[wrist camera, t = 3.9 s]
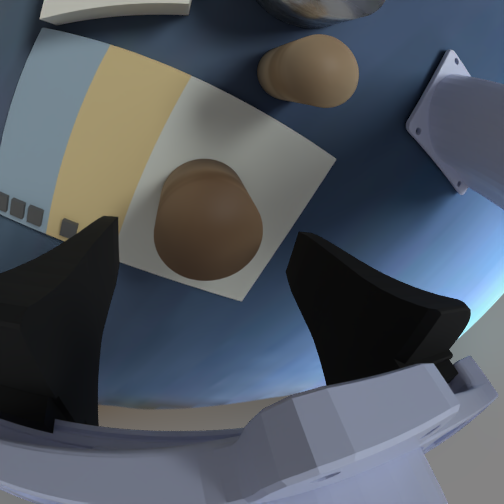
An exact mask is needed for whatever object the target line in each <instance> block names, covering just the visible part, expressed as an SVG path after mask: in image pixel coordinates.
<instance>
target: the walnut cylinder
mask: <svg viewBox="0 0 504 504" xmlns="http://www.w3.org/2000/svg"><path fill="white" fill-rule="evenodd" d="M262 237H263V224H262V219H261V216H260V213H259V211H258V209H257V207H256V206H255V204H254V202H253V200H252V199H251V197H250V195H249V193H248V192H247V190H246V188H245V186H244V185H243V183H242V181H241V179H240V178H239V176H238V175H237V173H236V172H235V171H234V170H233V169H232V168H230V167H229V166H228V165H226V164H224V163H222V162H220V161H217V160H213V159H195V160H191V161H188V162H186V163H184V164H182V165H180V166H178V167H177V168H176V169H175V170H173V171H172V172H171V174H170V175H169V176H168V177H167V179H166V181H165V182H164V184H163V187H162V190H161V195H160V200H159V205H158V210H157V215H156V221H155V226H154V244H155V247H156V250H157V253H158V255H159V256H160V258H161V260H162V261H163V262H164V263H165V265H166V266H167V267H169V268H170V269H171V270H172V271H174V272H175V273H177V274H179V275H181V276H183V277H185V278H188V279H192V280H198V281H213V280H219V279H223V278H226V277H228V276H231V275H233V274H235V273H237V272H238V271H240V270H241V269H243V268H244V267H245V266H246V265H247V264H248V263H249V262H250V261H251V260H252V259H253V258H254V256H255V255H256V253H257V251H258V250H259V247H260V245H261V241H262Z"/></svg>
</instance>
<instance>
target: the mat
mask: <svg viewBox="0 0 504 504" xmlns="http://www.w3.org/2000/svg"><path fill="white" fill-rule="evenodd" d="M195 159H213V160H217V161H220V162H222V163H224V164H226V165H228V166H229V167H230V168H232V169H233V170H234V171H235V172H236V173H237V175H238V176H239V178H240V179H241V181H242V183H243V185H244V186H245V188H246V190H247V192H248V193H249V195H250V197H251V199H252V200H253V202H254V204H255V206H256V207H257V209H258V211H259V213H260V216H261V219H262V224H263V237H262V241H261V245H260V247H259V250H258V251H257V253H256V255H255V256H254V258H253V259H252V260H251V261H250V262H249V263H248V264H247V265H246V266H245V267H244V268H243V269H241V270H240V271H238V272H237V273H235V274H233V275H231V276H228V277H226V278H223V279H219V280H213V281H198V280H192V279H188V278H185V277H183V276H181V275H179V274H177V273H175V272H174V271H172V270H171V269H170V268H169V267H167V266H166V265H165V263H164V262H163V261H162V260H161V258H160V256H159V255H158V253H157V250H156V247H155V244H154V226H155V221H156V215H157V210H158V205H159V200H160V195H161V190H162V187H163V184H164V182H165V181H166V179H167V177H168V176H169V175H170V174H171V172H172V171H173V170H175V169H176V168H177V167H178V166H180V165H182V164H184V163H186V162H188V161H191V160H195ZM335 161H336V158H334V157H333V156H331V155H330V154H329V153H327V152H326V151H324V150H323V149H321V148H320V147H318V146H317V145H315V144H314V143H312V142H311V141H309V140H308V139H306V138H305V137H303V136H301V135H300V134H298V133H297V132H295V131H294V130H292V129H290V128H289V127H287V126H285V125H284V124H282V123H280V122H279V121H277V120H275V119H274V118H272V117H270V116H269V115H267V114H265V113H263V112H262V111H260V110H258V109H256V108H255V107H253V106H251V105H249V104H247V103H245V102H244V101H242V100H240V99H238V98H236V97H234V96H232V95H230V94H228V93H226V92H224V91H222V90H220V89H218V88H216V87H214V86H212V85H210V84H208V83H206V82H204V81H202V80H200V79H197V78H195V77H193V76H191V75H189V74H186V73H184V72H182V71H180V70H177V69H175V68H173V67H170V66H168V65H165V64H163V63H160V62H158V61H155V60H153V59H150V58H148V57H145V56H142V55H139V54H137V53H134V52H131V51H128V50H125V49H122V48H119V47H116V46H113V45H110V44H107V43H104V42H100V41H97V40H93V39H90V38H86V37H82V36H79V35H75V34H71V33H66V32H62V31H58V30H53V29H48V28H43V27H42V29H41V31H40V33H39V35H38V37H37V39H36V41H35V44H34V46H33V48H32V50H31V52H30V55H29V57H28V59H27V62H26V64H25V66H24V69H23V72H22V74H21V77H20V79H19V82H18V85H17V88H16V91H15V94H14V97H13V100H12V103H11V106H10V110H9V113H8V117H7V121H6V124H5V128H4V132H3V137H2V141H1V146H0V214H1V215H3V216H5V217H7V218H10V219H12V220H14V221H16V222H19V223H21V224H23V225H26V226H28V227H31V228H33V229H35V230H38V231H40V232H43V233H45V234H47V235H50V236H52V237H55V238H57V239H60V240H62V241H66V240H68V239H69V238H71V237H72V236H74V235H75V234H77V233H78V232H80V231H81V230H82V229H84V228H85V227H87V226H88V225H90V224H91V223H92V222H94V221H95V220H97V219H98V218H100V217H102V216H114V217H118V233H119V262H121V263H124V264H127V265H130V266H132V267H135V268H138V269H141V270H144V271H147V272H150V273H153V274H156V275H159V276H162V277H165V278H168V279H171V280H174V281H177V282H180V283H183V284H186V285H189V286H192V287H196V288H199V289H202V290H205V291H208V292H212V293H215V294H218V295H222V296H225V297H228V298H232V299H235V300H238V301H242V300H243V299H244V297H245V296H246V294H247V293H248V291H249V290H250V289H251V287H252V286H253V284H254V283H255V281H256V280H257V278H258V277H259V275H260V274H261V272H262V271H263V269H264V268H265V267H266V265H267V264H268V262H269V261H270V259H271V258H272V256H273V255H274V253H275V252H276V250H277V249H278V247H279V246H280V244H281V243H282V241H283V240H284V238H285V237H286V235H287V234H288V232H289V231H290V229H291V228H292V226H293V225H294V223H295V222H296V220H297V219H298V217H299V216H300V214H301V213H302V211H303V210H304V208H305V207H306V205H307V204H308V202H309V201H310V199H311V198H312V196H313V195H314V193H315V192H316V190H317V189H318V187H319V185H320V184H321V182H322V181H323V179H324V178H325V176H326V175H327V173H328V172H329V170H330V169H331V167H332V165H333V164H334V162H335Z"/></svg>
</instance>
